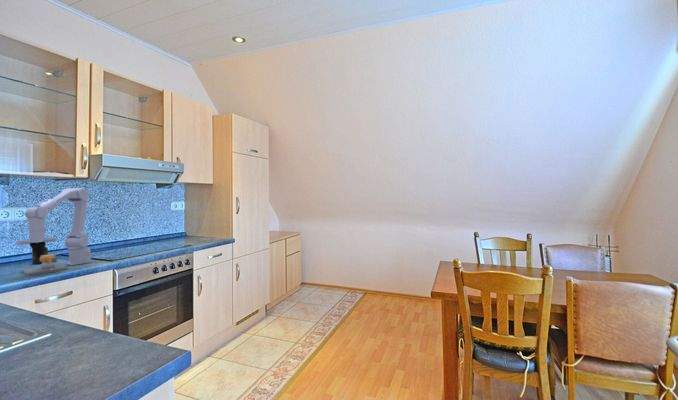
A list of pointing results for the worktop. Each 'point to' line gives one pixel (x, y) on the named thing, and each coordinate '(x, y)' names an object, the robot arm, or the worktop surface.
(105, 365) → the worktop surface
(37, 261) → the supplement bottle
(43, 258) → the crank handle
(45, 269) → the plate
